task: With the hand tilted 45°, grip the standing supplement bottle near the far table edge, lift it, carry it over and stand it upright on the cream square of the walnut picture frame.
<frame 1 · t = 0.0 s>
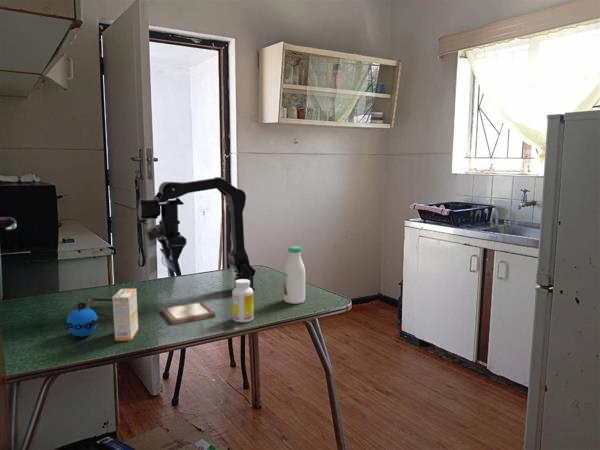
hand: (171, 261, 167), 15 cm above the table, tool pointing down, fingers open, 9 cm apart
milk bottle: (294, 301, 170), on the table
eyeglasses: (103, 314, 156), on the table
ornament: (83, 336, 136), on the table
supplement bottle: (243, 320, 151), on the table
supplement box: (126, 336, 137), on the table
walnut picture frame: (187, 314, 155), on the table
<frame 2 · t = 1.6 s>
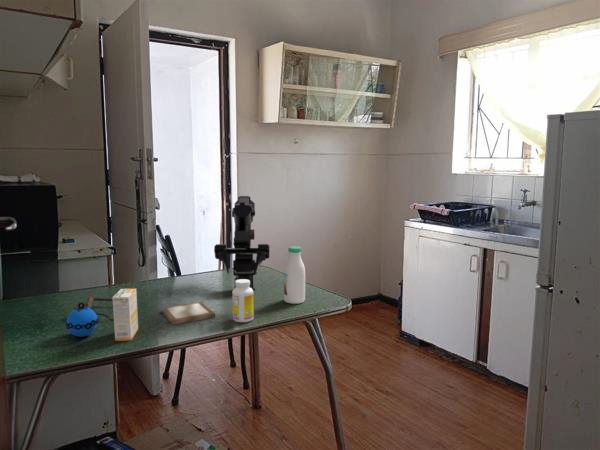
hand: (241, 272, 156), 13 cm above the table, tool tilted 45°, fingers open, 9 cm apart
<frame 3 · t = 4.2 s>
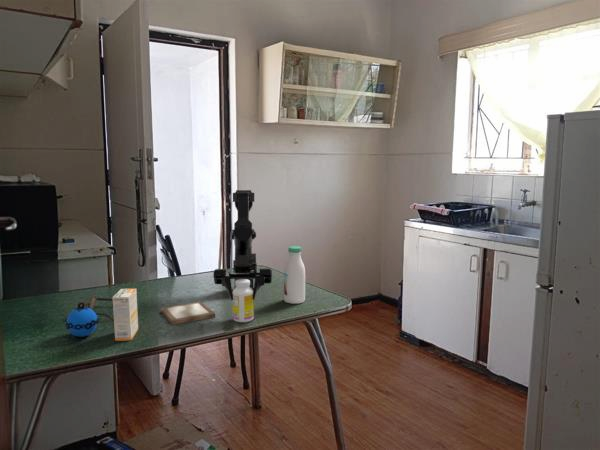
hand: (242, 299, 148), 7 cm above the table, tool tilted 45°, fingers closed on supplement bottle, 7 cm apart
supplement bottle: (243, 320, 151), on the table, touching gripper
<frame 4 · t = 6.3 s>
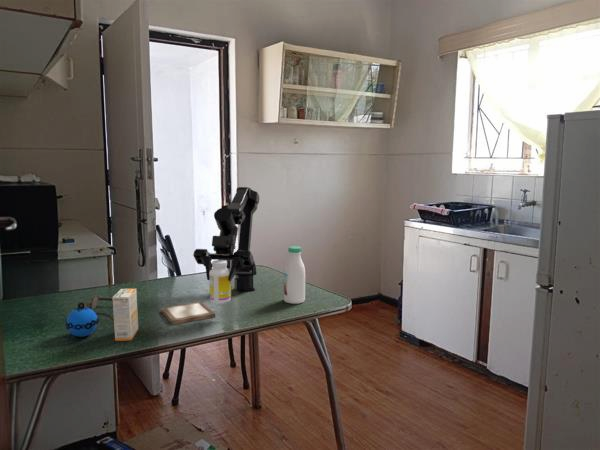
hand: (218, 280, 148), 13 cm above the table, tool tilted 45°, fingers closed on supplement bottle, 7 cm apart
supplement bottle: (220, 301, 150), point 6 cm above the table, touching gripper
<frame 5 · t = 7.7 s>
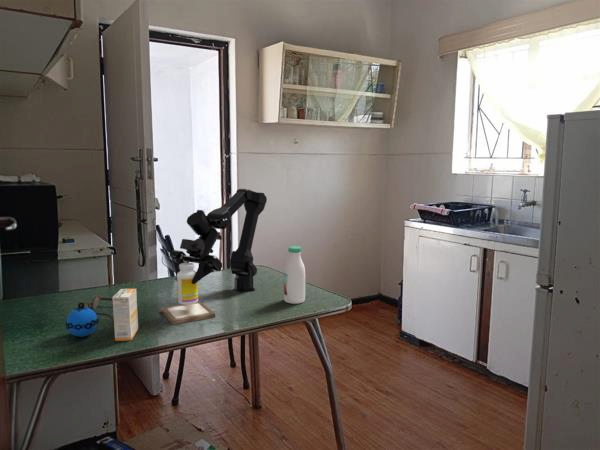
hand: (184, 282, 152), 11 cm above the table, tool tilted 45°, fingers closed on supplement bottle, 7 cm apart
supplement bottle: (188, 302, 154), point 4 cm above the table, touching gripper
when the fingers open (10 cm above the table, at t = 8.5 s): supplement bottle drops 1 cm, resting on walnut picture frame.
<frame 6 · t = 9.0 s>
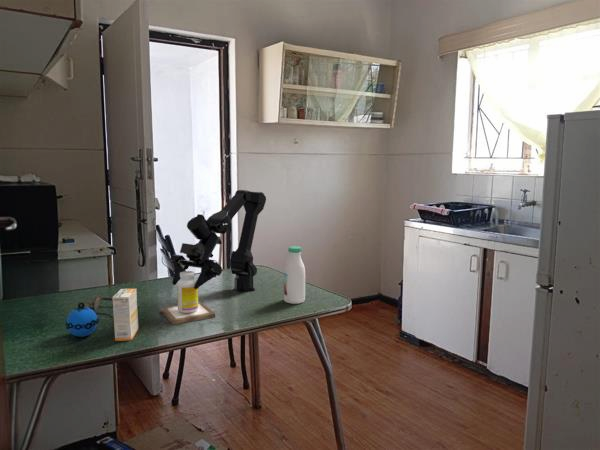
hand: (184, 286, 152), 10 cm above the table, tool tilted 45°, fingers open, 9 cm apart
supplement bottle: (188, 311, 155), point 1 cm above the table, touching walnut picture frame
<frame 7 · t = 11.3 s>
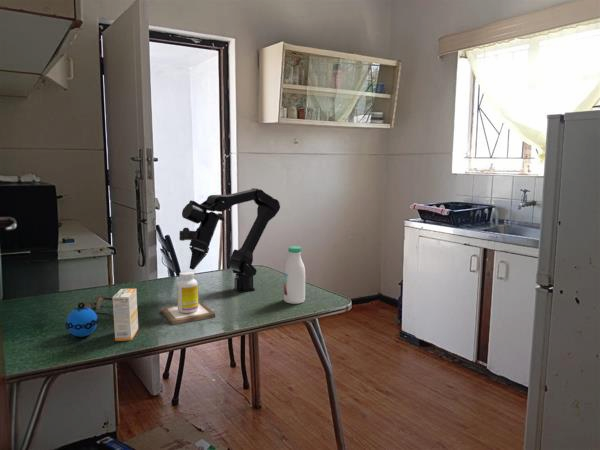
hand: (191, 269, 166), 12 cm above the table, tool tilted 25°, fingers open, 9 cm apart
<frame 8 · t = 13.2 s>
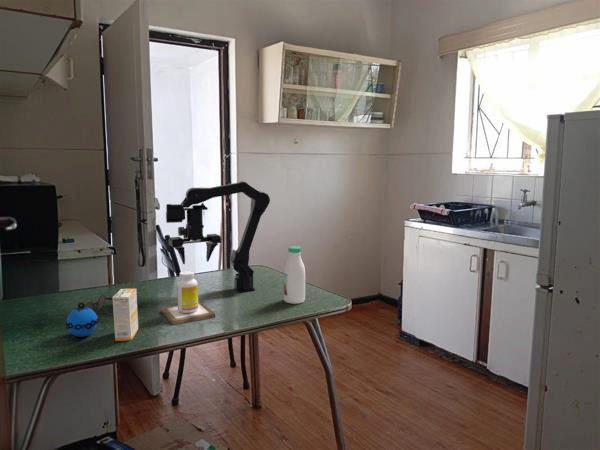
hand: (195, 262, 176), 12 cm above the table, tool pointing down, fingers open, 9 cm apart
at the end: supplement bottle inside the target area on the walnut picture frame (0.1 cm from its centre), point 1.1 cm above the walnut picture frame's base; supplement bottle tilted 0°; the gripper is holding nothing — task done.
